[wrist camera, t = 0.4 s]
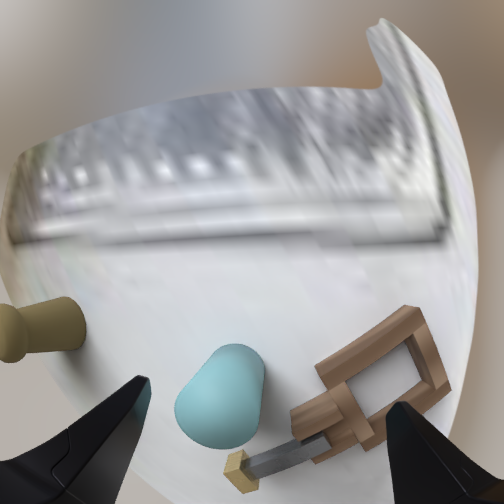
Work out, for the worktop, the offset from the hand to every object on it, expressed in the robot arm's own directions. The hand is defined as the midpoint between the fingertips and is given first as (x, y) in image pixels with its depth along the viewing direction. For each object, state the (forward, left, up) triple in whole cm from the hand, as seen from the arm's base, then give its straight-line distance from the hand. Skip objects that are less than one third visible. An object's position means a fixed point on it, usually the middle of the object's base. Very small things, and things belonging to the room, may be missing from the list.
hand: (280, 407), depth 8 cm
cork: (+11, +20, -15) cm, 27 cm away
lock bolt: (-9, +5, -12) cm, 16 cm away
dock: (-9, -4, -15) cm, 18 cm away
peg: (-1, +5, -15) cm, 15 cm away
